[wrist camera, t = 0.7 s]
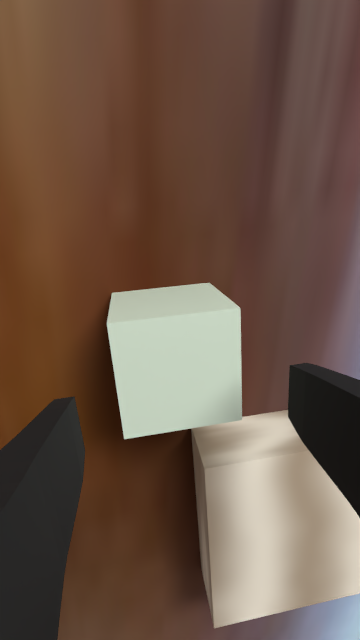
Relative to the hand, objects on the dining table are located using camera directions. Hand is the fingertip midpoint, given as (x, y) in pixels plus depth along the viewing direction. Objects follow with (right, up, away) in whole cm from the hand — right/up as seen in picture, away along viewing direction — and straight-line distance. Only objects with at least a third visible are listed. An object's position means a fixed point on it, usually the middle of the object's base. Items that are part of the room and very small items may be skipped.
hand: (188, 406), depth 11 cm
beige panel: (+7, -8, +12) cm, 16 cm away
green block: (-1, +2, +7) cm, 7 cm away
